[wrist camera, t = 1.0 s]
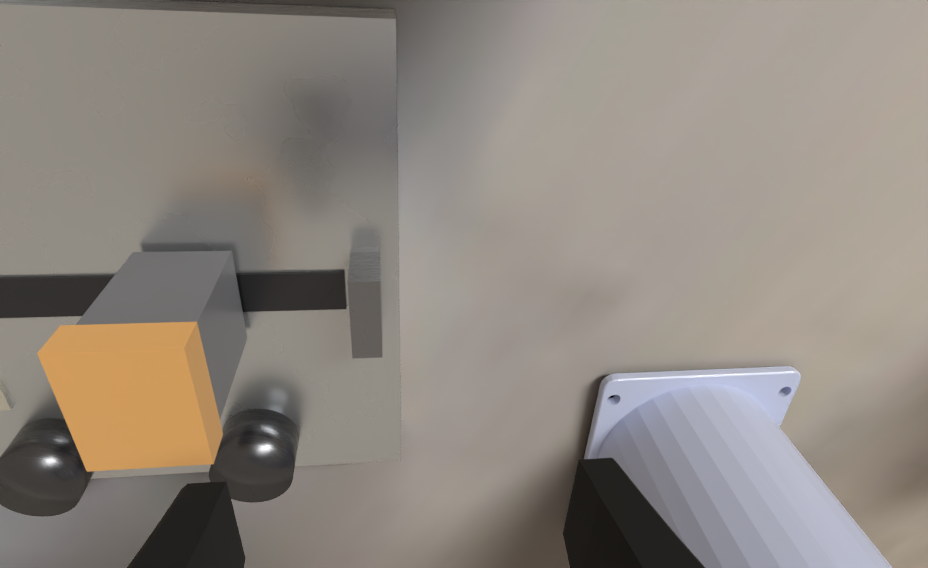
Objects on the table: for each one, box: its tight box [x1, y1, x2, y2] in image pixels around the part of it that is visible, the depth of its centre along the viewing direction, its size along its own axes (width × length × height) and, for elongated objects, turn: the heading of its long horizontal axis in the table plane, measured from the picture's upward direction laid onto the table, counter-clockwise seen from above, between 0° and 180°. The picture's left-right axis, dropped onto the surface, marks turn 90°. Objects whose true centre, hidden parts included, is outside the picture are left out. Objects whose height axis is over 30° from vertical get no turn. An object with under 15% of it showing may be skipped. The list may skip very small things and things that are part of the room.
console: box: [0, 0, 401, 516], centre depth 15 cm, size 14×17×4 cm
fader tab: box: [37, 251, 247, 472], centre depth 14 cm, size 3×3×4 cm
